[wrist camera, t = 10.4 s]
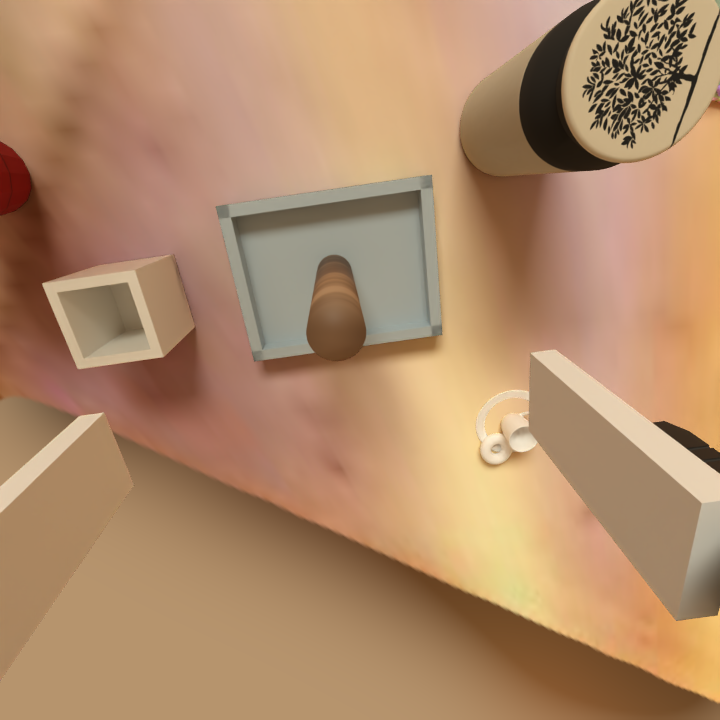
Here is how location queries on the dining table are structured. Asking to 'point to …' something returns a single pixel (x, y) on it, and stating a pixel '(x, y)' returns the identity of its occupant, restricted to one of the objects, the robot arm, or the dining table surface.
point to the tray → (335, 237)
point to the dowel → (335, 312)
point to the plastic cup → (12, 180)
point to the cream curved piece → (505, 431)
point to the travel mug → (597, 89)
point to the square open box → (121, 311)
